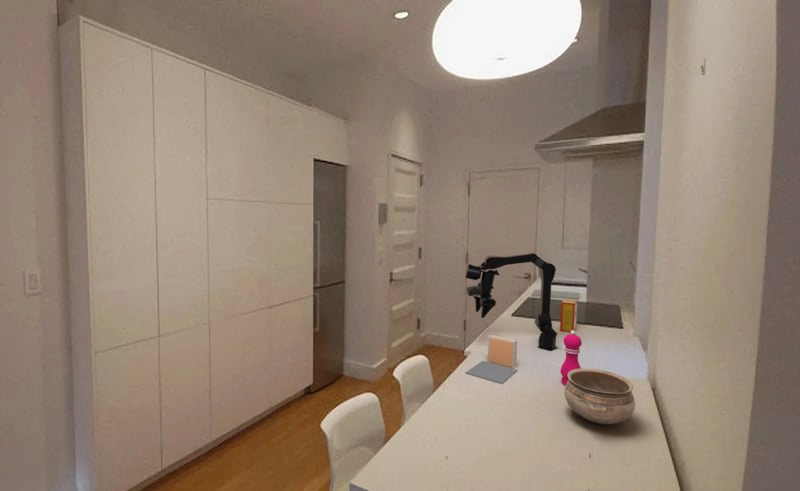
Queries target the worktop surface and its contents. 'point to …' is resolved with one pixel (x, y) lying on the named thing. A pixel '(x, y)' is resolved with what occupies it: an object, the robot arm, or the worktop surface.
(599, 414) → the cooking pot
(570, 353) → the pepper mill
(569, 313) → the baking soda box
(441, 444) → the worktop surface
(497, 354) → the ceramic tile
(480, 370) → the slate mat
